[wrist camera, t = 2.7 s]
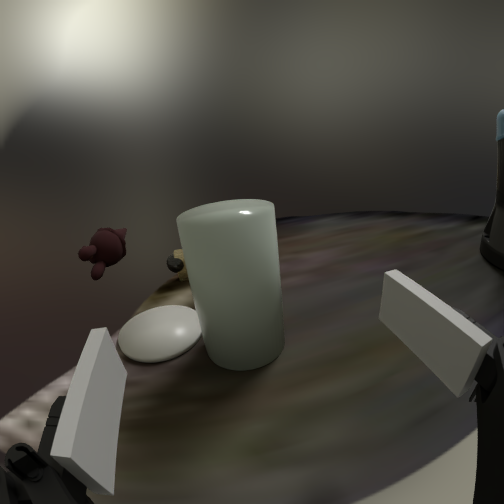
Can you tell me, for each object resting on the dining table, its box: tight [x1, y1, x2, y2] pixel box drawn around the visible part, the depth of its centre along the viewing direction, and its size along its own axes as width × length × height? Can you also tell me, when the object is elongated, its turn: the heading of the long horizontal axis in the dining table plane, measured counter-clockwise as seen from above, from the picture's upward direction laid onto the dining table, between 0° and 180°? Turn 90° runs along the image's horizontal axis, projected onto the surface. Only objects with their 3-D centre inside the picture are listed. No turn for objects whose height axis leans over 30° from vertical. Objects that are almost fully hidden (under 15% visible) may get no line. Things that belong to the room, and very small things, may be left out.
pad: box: [118, 305, 202, 363], centre depth 27 cm, size 9×9×1 cm
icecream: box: [78, 228, 127, 280], centre depth 46 cm, size 7×7×15 cm
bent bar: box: [167, 249, 189, 282], centre depth 35 cm, size 9×10×4 cm
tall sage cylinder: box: [177, 199, 285, 371], centre depth 23 cm, size 7×7×12 cm
